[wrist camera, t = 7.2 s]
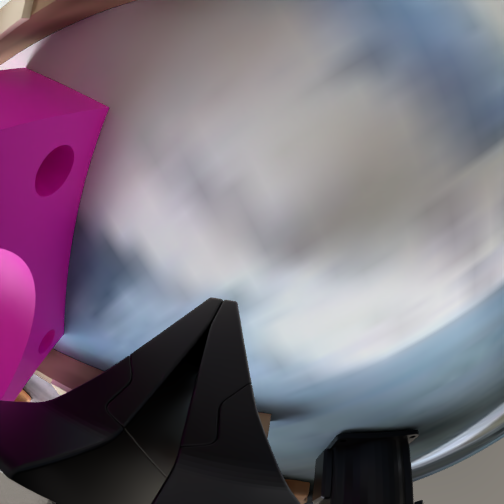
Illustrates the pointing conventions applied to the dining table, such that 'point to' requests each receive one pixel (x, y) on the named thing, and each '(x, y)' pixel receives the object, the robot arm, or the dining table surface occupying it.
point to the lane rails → (3, 48)
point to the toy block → (38, 212)
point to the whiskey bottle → (23, 397)
